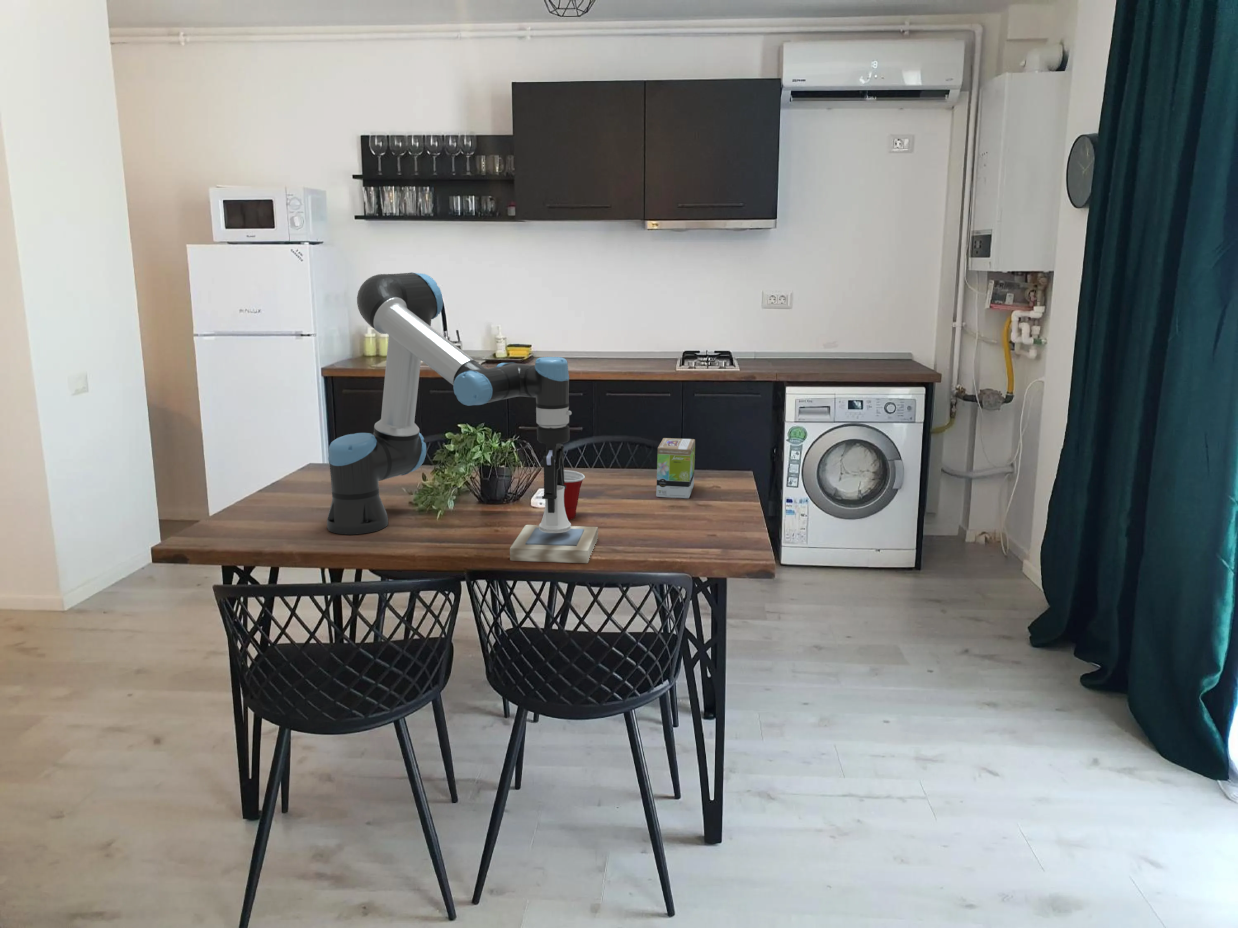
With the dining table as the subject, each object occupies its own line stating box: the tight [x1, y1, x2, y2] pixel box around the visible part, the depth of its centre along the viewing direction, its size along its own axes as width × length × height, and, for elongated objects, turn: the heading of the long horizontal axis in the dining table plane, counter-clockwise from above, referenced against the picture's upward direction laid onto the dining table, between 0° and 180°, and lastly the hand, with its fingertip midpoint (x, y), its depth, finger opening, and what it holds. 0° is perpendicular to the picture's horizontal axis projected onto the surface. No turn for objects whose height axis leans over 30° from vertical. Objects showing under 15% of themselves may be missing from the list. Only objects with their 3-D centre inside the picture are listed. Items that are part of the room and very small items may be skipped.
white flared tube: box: [538, 485, 572, 533], centre depth 214 cm, size 8×8×10 cm
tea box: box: [655, 437, 696, 499], centre depth 265 cm, size 15×10×15 cm, turn 171°
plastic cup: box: [563, 469, 585, 521], centre depth 240 cm, size 11×11×12 cm
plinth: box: [509, 524, 599, 564], centre depth 216 cm, size 18×18×3 cm
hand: (555, 520), depth 215 cm, fingers closed on white flared tube, 7 cm apart
